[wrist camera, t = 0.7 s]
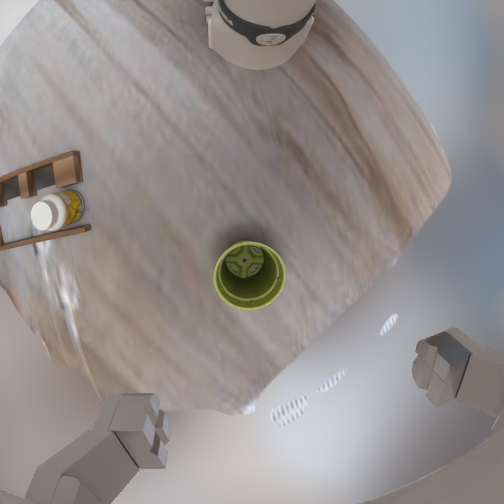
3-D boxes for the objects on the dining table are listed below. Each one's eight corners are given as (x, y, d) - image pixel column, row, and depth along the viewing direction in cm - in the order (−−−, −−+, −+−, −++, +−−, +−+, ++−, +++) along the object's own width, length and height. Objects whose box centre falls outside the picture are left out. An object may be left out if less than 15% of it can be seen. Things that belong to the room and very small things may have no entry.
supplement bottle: (70, 183, 41) (38, 187, 31) (90, 204, 42) (62, 213, 33) (53, 208, 41) (21, 218, 32) (73, 229, 43) (44, 243, 33)
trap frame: (-9, 183, 38) (-17, 184, 36) (79, 151, 39) (72, 150, 37) (2, 248, 41) (-5, 252, 39) (91, 229, 43) (84, 232, 41)
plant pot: (245, 216, 45) (251, 226, 37) (286, 258, 48) (300, 277, 39) (202, 258, 46) (198, 277, 38) (244, 297, 49) (248, 323, 40)
